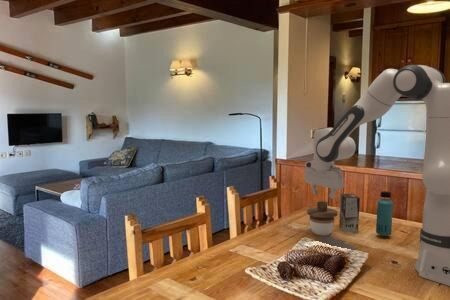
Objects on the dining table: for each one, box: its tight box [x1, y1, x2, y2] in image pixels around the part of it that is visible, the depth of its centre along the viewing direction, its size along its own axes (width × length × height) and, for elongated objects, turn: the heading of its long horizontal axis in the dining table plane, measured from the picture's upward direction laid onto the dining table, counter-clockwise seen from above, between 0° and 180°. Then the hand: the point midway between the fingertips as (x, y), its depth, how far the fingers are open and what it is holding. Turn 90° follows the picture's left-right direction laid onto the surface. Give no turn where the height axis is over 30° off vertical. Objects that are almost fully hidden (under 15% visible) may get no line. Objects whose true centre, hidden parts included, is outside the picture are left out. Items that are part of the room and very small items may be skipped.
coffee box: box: [338, 193, 361, 234], centre depth 174 cm, size 9×6×16 cm
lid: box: [306, 200, 339, 218], centre depth 167 cm, size 13×13×5 cm
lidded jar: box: [308, 215, 335, 237], centre depth 168 cm, size 11×11×9 cm
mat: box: [306, 236, 359, 251], centre depth 153 cm, size 16×16×1 cm
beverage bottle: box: [375, 190, 394, 237], centre depth 165 cm, size 6×7×20 cm
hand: (323, 196), depth 166 cm, fingers open, 8 cm apart
